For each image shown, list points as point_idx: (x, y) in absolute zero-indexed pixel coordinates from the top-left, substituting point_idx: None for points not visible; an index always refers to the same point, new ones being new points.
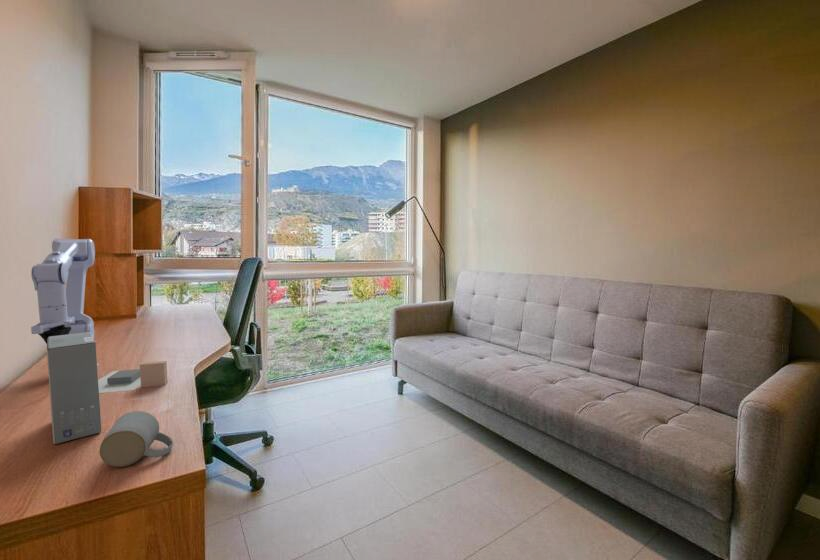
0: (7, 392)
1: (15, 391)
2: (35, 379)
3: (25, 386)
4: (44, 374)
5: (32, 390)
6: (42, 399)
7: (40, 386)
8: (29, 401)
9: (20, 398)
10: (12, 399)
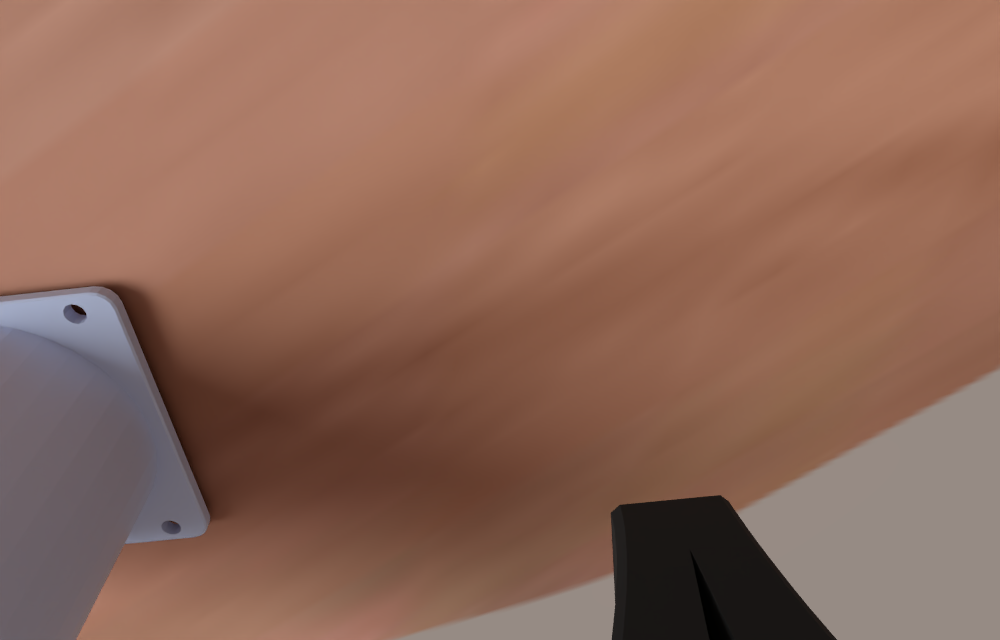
0: None
1: None
2: (294, 596)
3: (486, 547)
4: (151, 621)
5: (622, 424)
6: (984, 134)
7: (508, 435)
8: (993, 229)
9: (847, 371)
10: (850, 417)
